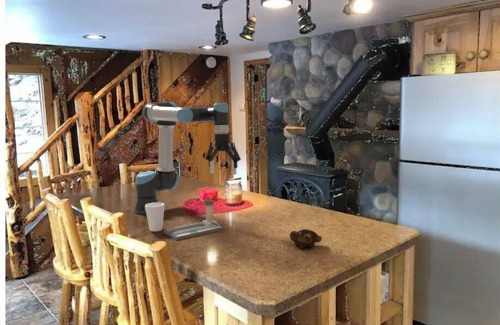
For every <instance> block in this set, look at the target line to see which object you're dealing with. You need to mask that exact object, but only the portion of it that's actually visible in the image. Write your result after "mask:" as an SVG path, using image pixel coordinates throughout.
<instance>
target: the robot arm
mask: <svg viewBox="0 0 500 325" xmlns="http://www.w3.org/2000/svg"><path fill="white" fill-rule="evenodd" d="M141 112H142V113H141V114H142V117H143V119H144V120H145V121H146V122H149V123H156V126H157V127H158V166H157V167H156V168H155V170H154V171H153V170H148V171H142V172H139V173H138V174H136V176H135V190H136V191H135V193H136V194H135V195H136V200H135V205H134V207H133V210H134V212H133V213H135V214H137V215H138V214H139V215H147V214H146V210H145V205H146V204H149V203H160V202H159V200H158V197H157V193H159V192H160V193H161V192H165V191H170V190H174V189H176V187H178V185H179V182H180V176H179V173H178V171H177V170H176V168H175V167H174V166H173V165H174V164H173V163H174V128H175V127H176V126H177V122H178V123H182V124H189V123H190V124H191V123H211V122H214V123H213V125H214V126H213V127H214V129H213V130H214V133H215V134H214V141H215V142H214V141H212V142H209V148H208V150H207V153H206V156H205V158H204V159H205V160H206V161H208V167H209V171H210V172H209V174H215V160H214V159H215V157H216V156H217V154H218V153H219V152H225V153H226V154H227V155H228V156H229V157H230V159H231V160H232V162H231V165H232V166H231V167H232V168H231V169H232V176H235V175H237V168H238V162H239V161H242V158H241V157H240V154H239V152H238V150H237V147H236V144H235V142H230V133H229V132H230V122H229V121H230V120H229V119H230V118H229V117H230V116H229V115H230V114H229V104H228V103H226V102H218V103H213V106H212V107H211V106H210V107H207V106H206V107H205V106H203V107H179V106H178V104H176V103H175V102H172V101H160V102H157V101H156V102H148V103H146V104H145V105H144V106H143V108H142V110H141Z"/></svg>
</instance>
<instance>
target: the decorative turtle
mask: <svg viewBox="0 0 500 325" xmlns="http://www.w3.org/2000/svg"><path fill="white" fill-rule="evenodd" d="M289 238H290V240H291V241H292V242H293V243H294V245H295V246H296V247H299V249H300V250H304V249H305V248H306V247H308V248H309V249H313V248H314V246H315V244H316V243H320V242H322V240H323V237H322V236H321V235H319V234H318V233H317V232H316V231H313V230H312V229H309V228H308V229H305V228H304V229H300V230H299V231H296V230H292V231H291V232H290V233H289Z"/></svg>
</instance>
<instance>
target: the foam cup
mask: <svg viewBox="0 0 500 325" xmlns="http://www.w3.org/2000/svg"><path fill="white" fill-rule="evenodd" d="M145 210H146V214H145V215H146V218H147V224H148V229H149V231H150V232H160V231H162V230H163V227H164V226H163V224H164V214H165V203H163V202H159V203H149V204H146V205H145Z"/></svg>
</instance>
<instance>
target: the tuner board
mask: <svg viewBox="0 0 500 325" xmlns="http://www.w3.org/2000/svg"><path fill="white" fill-rule="evenodd" d="M217 225H218V226H216V225H214V224H213V225H208V226H205V225H203V221H202V222H196V223H191V224H186V225H181V226H176V227H171V228H167V229H164V230H163V233H164V234H165V235H167V236H168V237H170V238H171V237H172V238H171V239H173V240H174V241H178V240H179V239H180V240H185V239H189V238H194V237H198V236H202V235H207V234H211V233H216V232H220V231H224V228H225V227H224V226H222V225H220V223H218V222H217ZM184 238H185V239H184ZM180 240H179V241H180Z"/></svg>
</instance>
